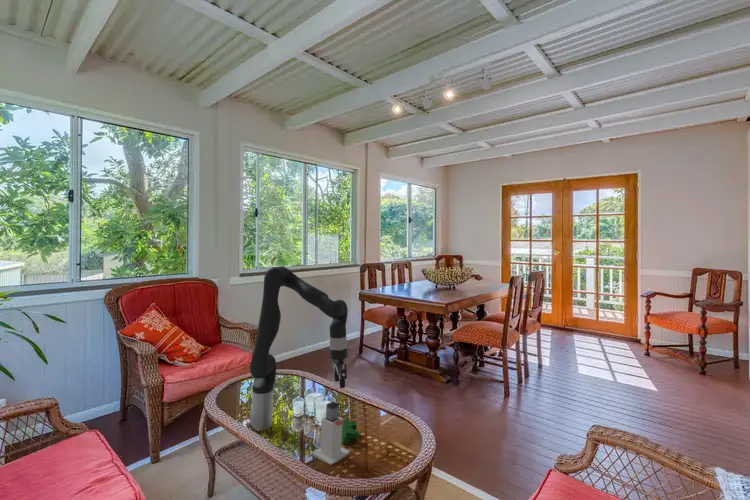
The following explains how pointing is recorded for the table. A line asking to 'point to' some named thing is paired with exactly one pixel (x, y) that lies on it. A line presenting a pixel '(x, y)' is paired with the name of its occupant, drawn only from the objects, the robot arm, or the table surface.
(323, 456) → the stand housing
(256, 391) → the robot arm
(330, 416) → the column
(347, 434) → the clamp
